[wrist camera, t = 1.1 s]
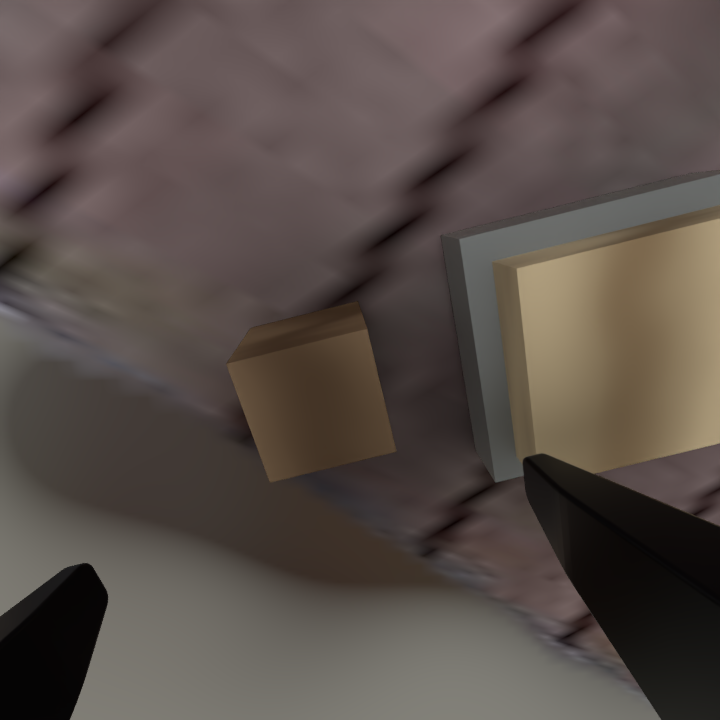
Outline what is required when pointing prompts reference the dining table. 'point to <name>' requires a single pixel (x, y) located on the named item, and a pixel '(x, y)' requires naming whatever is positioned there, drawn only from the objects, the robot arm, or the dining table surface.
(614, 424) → the oak block
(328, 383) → the walnut cube
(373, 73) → the dining table surface
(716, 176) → the slate slab
